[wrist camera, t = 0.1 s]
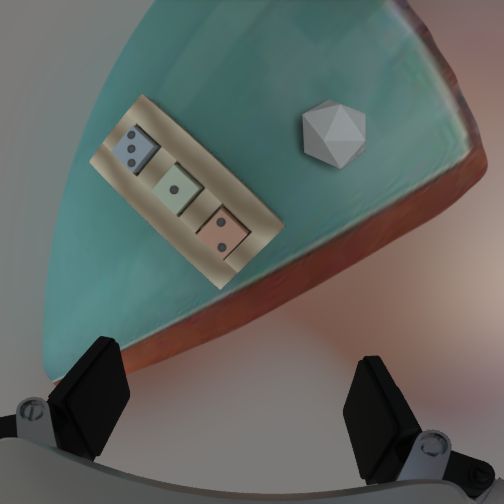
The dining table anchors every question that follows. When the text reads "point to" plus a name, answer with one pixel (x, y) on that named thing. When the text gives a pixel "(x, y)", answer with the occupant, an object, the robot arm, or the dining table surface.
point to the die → (334, 133)
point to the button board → (201, 207)
